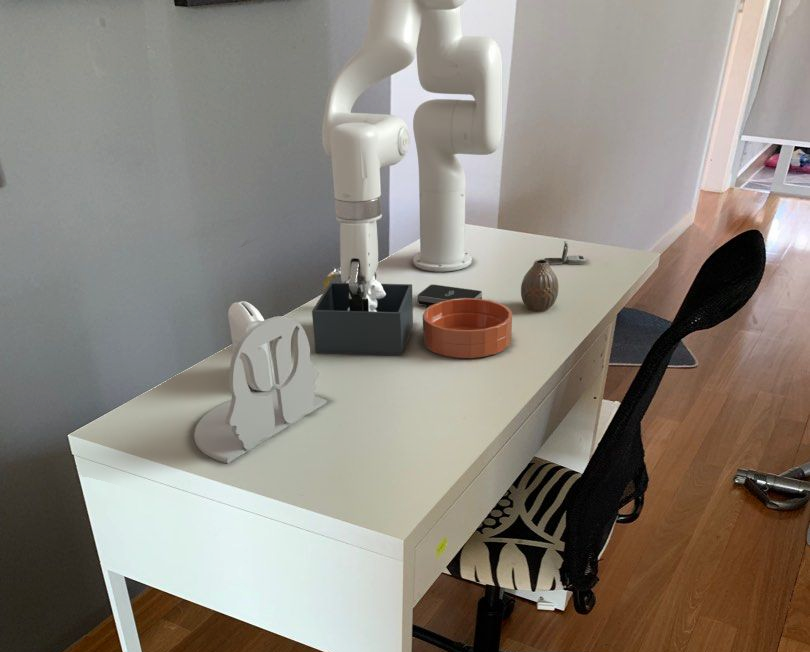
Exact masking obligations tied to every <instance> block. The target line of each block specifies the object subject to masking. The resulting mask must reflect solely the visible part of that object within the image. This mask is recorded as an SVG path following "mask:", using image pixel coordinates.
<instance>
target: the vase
mask: <svg viewBox="0 0 810 652" xmlns="http://www.w3.org/2000/svg"><path fill="white" fill-rule="evenodd" d="M548 262H549V261H548V260H544V259H536V260H534V263H533V265H531V267H530V268H529V269H528V271H527V272H526V273H525V275H524V276H523V278H522V281H521V284H520V297H521V301H522V303H523V304H524V306H525V307H526V308H527V309H528V310H529V311H532V312H545V311H547V310H549V309H551V308H552V307H553V306H554V304H555V303H556V301H557V298H558V294H559V280H558V278H557V274H556V273H555V271H554V270H553V269H552V268H551V266H550V264H549V263H548Z"/></svg>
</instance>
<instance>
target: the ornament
mask: <svg viewBox="0 0 810 652" xmlns="http://www.w3.org/2000/svg"><path fill="white" fill-rule="evenodd" d="M292 338H293V347H294V348H293V349H294V353H293V354H294V355H293V357H294V358H293V364H292V350H291V348H292V347H291V346H292ZM272 341H273V342H272ZM267 342H269V343H270V342H272V346H271V359H272V367H273V375H274V383H275V385H278V386H277V387H276V388H275V390H276V391H271V390H272V387H271V382H270V373H269V364H268V358H267V354H266V352H265V350H264V349H262V348H259V346H261V345H263V344H265V343H267ZM241 353H242V354H243V355H244V356H245V358H246V360H247V362H248V366H249V370H250V377H251V381H252V383H253V385H254V386H255V388H257V389H259V390H261V391H262V392H258V393H252V391H251V389H250V386H249V385H248V384H247V381H246V377H245V371H244V366H243V363H242V360H241V359H240V358H239V357H240V354H241ZM310 357H311V347H310V343H309V339H308V336H307V333H306V331H305V328H304V327H303V326H302V324H300V322H298V321H297V320H296V319H294V318H292V317H287V316H280V315H277V316H272V317H270V318H266V319H264V321H262V322H260V323H258V324H257V325H255V326H253V327H252V328H251V329H249V330H248V331H247V332H246V333H245V334H244V336H243V337H242V338H241V339H240V341H239V342H238V344H237V346H236V348H235V351H234V350H233V353H232V356H231V360H230V363H229V371H228V389H229V392H230V395H231V400H228V401H226V402H224V403H221V404H219V405H218V406H215V407H214V408H212V409H211V410H209V411H208V412H206V414H204V415H203V416H202V417H201V418H200V419H199V420H198V422H197V424H196V426H195V428H194V432H193V440H194V443H195V446H196V447H197V448H198V449H199V450H200V451H201V453H203V454H204V455H206V456H207V457H209V458H211V459H213V460H215V461H218V462H221V463H224V464H230V463H231V462H232V461H234V460H236V459H237V458H239V457H241V456H242V455H244V454H245V453H247V452H249V451H251V450H252V449H254V448H255V447H257V446H259V445H260V444H262V443H264V442H265V441H266V440H269V439H270V438H272V437H274V436H276V435H277V434H278V433H280V432H282V431H283V430H284V429H286V428H288V427H289V426H291V425H293V424H294V423H296V422H298V421H299V420H301V419H303V418H304V417H306V416H308V415H309V414H311V413H312V412H314V411H315V410H317V409H319V408H321V407H322V406H324V405H326V404H327V403H328V400H327V399H325V398H322V397H319V396H316V393H317V392H316V390H317V384H316V381H317V380H318V378H319V377H320V373H319V371H318V370H317V368H316V367H315V366H314V365H313V362H312V361H311V358H310Z"/></svg>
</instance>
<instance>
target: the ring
mask: <svg viewBox="0 0 810 652" xmlns="http://www.w3.org/2000/svg"><path fill="white" fill-rule="evenodd" d="M336 277H341V264H339V267H337V268H336V267H335V266H333V270H332V271H331V272H330V273H329V274H328V275H327V276H326V278H325V279H324V281H323V292H324V291H325V290H326V288H327V286H328V285H329V283H331V280H333V279H335V278H336Z"/></svg>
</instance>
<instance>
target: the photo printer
mask: <svg viewBox="0 0 810 652" xmlns="http://www.w3.org/2000/svg"><path fill="white" fill-rule="evenodd" d="M227 317H228V324H229V329H230V337H231V342H232V349H233V352H234V351H235V348H236V346H237V344H238V342H239V341H240V339H241V338H242V337H243V336H244V334H245V333H246V332H247V331H248V330H249V329H251V328H252V327H253V326H255V325H257V324H258V323H260V322H262V321H264V320H265V319H264V317H263V315H262V314H261V312H260V311H259V310H258V309H257V308H256V307H255V306H254V305H253V304H251V303H249V302H248V301H245V300H241V301H238V302H237V301H235V302H233V303H232V304H231V305H230V306H229V308H228V312H227ZM270 345H271V344H270V341H269V342H267V343H265V344H263V345H261V346H259V348H262V349H264V350H265V352H266V354H267V358H268V364H269V373H270V382H271V388H273V386H275V374H274V366H273V359H272V351H271V346H270ZM239 358H240V359H241V360H242V363H243V366H244V371H245V377H246V381H247V384H248V387H249V388H251V389H252V390H253V391H254V390H255V391H262V390H259V389H257V388H255V386H254V385H253V383H252V381H251V377H250V370H249V366H248V362H247V360H246V358H245V356H244V355H243V354H242V353H241V354H240V357H239Z"/></svg>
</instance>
